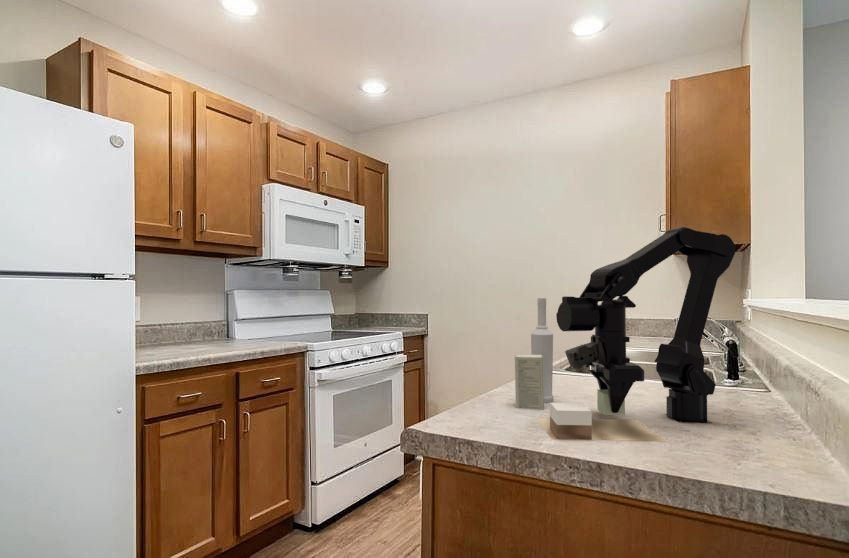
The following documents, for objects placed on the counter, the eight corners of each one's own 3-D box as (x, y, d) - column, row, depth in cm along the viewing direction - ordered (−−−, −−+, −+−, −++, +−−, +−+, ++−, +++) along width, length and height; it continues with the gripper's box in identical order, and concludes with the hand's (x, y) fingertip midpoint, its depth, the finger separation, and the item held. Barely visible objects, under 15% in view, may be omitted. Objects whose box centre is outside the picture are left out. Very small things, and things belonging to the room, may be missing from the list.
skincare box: (543, 407, 109) (543, 354, 110) (543, 412, 105) (543, 357, 105) (515, 406, 111) (515, 353, 111) (514, 410, 106) (514, 356, 107)
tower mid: (582, 416, 90) (582, 403, 90) (591, 425, 84) (591, 411, 84) (549, 415, 90) (549, 402, 90) (556, 424, 84) (556, 410, 84)
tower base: (582, 429, 89) (582, 416, 90) (591, 439, 83) (591, 425, 84) (550, 429, 90) (549, 415, 90) (556, 439, 84) (556, 424, 84)
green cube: (617, 409, 96) (617, 389, 96) (624, 414, 92) (624, 394, 92) (597, 409, 96) (597, 389, 96) (603, 414, 92) (603, 393, 92)
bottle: (531, 405, 111) (531, 298, 112) (530, 400, 117) (530, 298, 117) (554, 406, 111) (554, 298, 111) (552, 401, 116) (551, 298, 116)
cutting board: (636, 422, 97) (636, 419, 97) (668, 444, 83) (668, 441, 83) (537, 421, 98) (537, 418, 98) (551, 442, 84) (551, 438, 84)
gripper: (558, 327, 104) (559, 398, 104) (581, 334, 86) (582, 422, 85) (610, 327, 104) (611, 399, 103) (645, 334, 85) (646, 423, 85)
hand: (611, 409), depth 94 cm, fingers closed on green cube, 4 cm apart
